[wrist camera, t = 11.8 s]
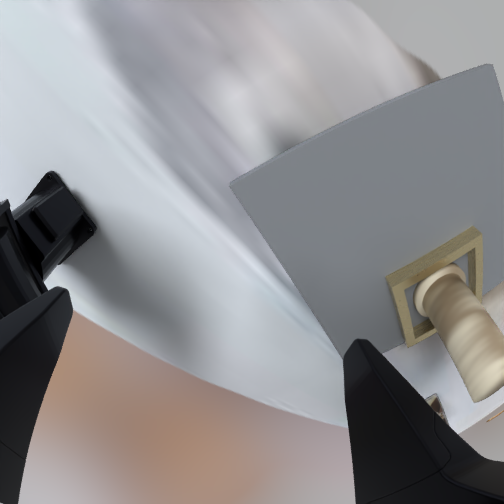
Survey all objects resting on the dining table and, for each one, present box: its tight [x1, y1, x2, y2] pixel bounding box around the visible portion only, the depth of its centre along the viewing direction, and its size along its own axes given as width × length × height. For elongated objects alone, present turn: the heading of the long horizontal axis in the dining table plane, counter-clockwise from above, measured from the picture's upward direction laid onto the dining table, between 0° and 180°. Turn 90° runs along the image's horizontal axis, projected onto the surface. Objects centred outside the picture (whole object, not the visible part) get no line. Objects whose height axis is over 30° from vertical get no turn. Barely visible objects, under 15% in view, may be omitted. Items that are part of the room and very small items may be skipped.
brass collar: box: [385, 226, 483, 348], centre depth 23 cm, size 10×10×2 cm
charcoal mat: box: [229, 64, 504, 359], centre depth 21 cm, size 24×24×1 cm
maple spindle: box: [413, 262, 504, 403], centre depth 18 cm, size 6×6×12 cm
